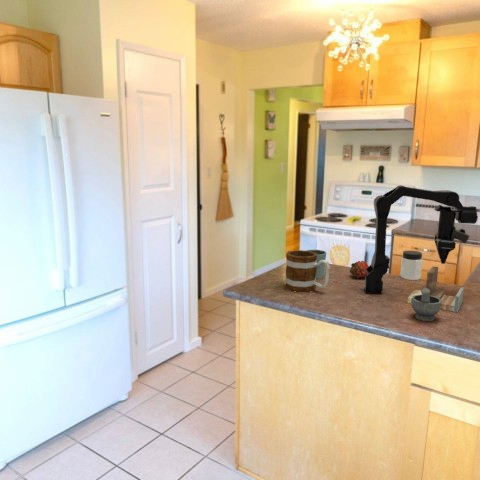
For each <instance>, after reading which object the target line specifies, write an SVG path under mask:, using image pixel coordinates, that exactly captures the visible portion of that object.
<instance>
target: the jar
mask: <svg viewBox="0 0 480 480" xmlns="http://www.w3.org/2000/svg"><path fill="white" fill-rule="evenodd" d="M400 261H401V263H400V271H399V272H400V274H399V277H401V278H403V280H409V281H418V280H420V279H421V278H422V269H423V268H422V267H423V252H421V251H417V250H404V251H403V252H402V256H401V260H400Z"/></svg>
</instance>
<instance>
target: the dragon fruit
mask: <svg viewBox="0 0 480 480" xmlns="http://www.w3.org/2000/svg"><path fill="white" fill-rule="evenodd" d="M350 266H351V267H350V270H349V273H350V274H351V275H352V276H355V278H357V279H361V278H364V279H365V276H368V275H367V274H366V271H365V269H366V268H368V267H369V266H370V265H369V263H367V262H366V261H365V260H361V261H360V260H358V261H356V262H354V263H351V264H350Z"/></svg>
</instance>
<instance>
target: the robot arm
mask: <svg viewBox="0 0 480 480" xmlns="http://www.w3.org/2000/svg"><path fill="white" fill-rule="evenodd" d="M402 197H408V198H415V199H422V200H427V201H428V200H429V201H432V202H435V203H439V204H438V206H436V207H434V211H436V212H439V214H438V215H439V217H438V223H437V232H435V234H434V235H433V240H434V244H435V247H436V250H437V251H436V252H437V254H438V258H439V260H440V263H441V264H443V265H445V264H446V262H447V259H448V257H449V254H450V252H452V251H454V250H455V249H456V246H457V245H456V244H457V243H456V241H454V240H457V241H460V242H461V243H463V244H467V242H468V240H469V238H470V234H468V233H466V230H465V229H464V228H460V229H456V226H455V222H456V221H457V223H459V224H467V225H468V224H472V225H475V224H476V223H477V222H478V212H477V206H474V205H472V206H471V205H470V206H463V203H461V201H460V195H459V193H457V192H456V191H453V190H446V189H445V190H430V189H429V190H428V189H423V188H417V187H416V188H415V187H410V186H404V185H397V186H395V188H393V189H391V190H389V191H387V192H385V193H384V194H383V195H382V194H381V195H378V196H376V197H375V198H374V199H373V208H374V215H375V235H374V236H375V237H374V238H375V241H374V242H375V243H374V252H373V256H372V258H371V262H370V265H369V267H368V268H366V269H365V271H366V274H367V276H365V278H364V287H363V291H364V293H365V294H379V295H381V294H383V288H384V287H383V285H384V281H383V277H384V276H385V275H386V274H387V273H388V270H389V269H391V268H390V261H391V259H390V257H389V256H388V255H386V245H387V244H386V242H387V240H386V239H387V224H388V223H387V222H388V221H387V220H388V217H389V214H390V211H391V207H392V206H393V204H395V203H396V202H398V200H401V198H402ZM442 205H445V206H442ZM451 208H454V209H451Z"/></svg>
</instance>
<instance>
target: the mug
mask: <svg viewBox="0 0 480 480" xmlns="http://www.w3.org/2000/svg"><path fill="white" fill-rule="evenodd" d="M317 254H318V253H315V252H311V251H306V250H302V249H297V250H288V251H287V252H286V254H285V256H286V266H285V267H286V268H285V285H284V287H285V288H287V289H289V290H291V291H290V292H292V291H296V292H295V293H299V292H307V293H311V292H310V291H313V292H315V291H316V289H317V287H318V288H320V289H321V288H325V287H327V286H328V284H329V278H330V277H329V275H330V263H329V261H328V260H326V259H325V260H320V261H319V262H318V263H316V262H317ZM322 262H324V263H325V269H326V270H325V272H324V283H323V284H321V283H319V282H317V280H316V272H317V266H318V265H320V264H321V263H322ZM285 288H284V289H285ZM287 289H286V290H287ZM289 290H288V291H289Z"/></svg>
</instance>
